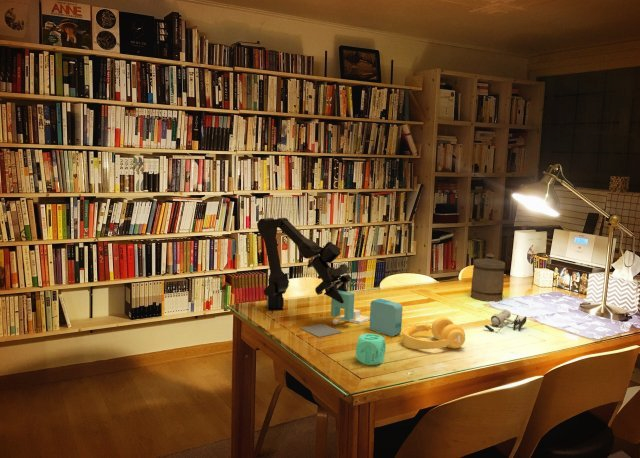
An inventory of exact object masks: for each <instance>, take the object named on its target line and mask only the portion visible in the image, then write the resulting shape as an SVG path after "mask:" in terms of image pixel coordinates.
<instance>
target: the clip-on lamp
mask: <svg viewBox="0 0 640 458" xmlns="http://www.w3.org/2000/svg"><path fill="white" fill-rule="evenodd" d="M510 317H511V312H510V310H508V309H504V310H502V311H501V312H499V313H494V314H493V315H492V316H491V318H490V322H491V324H492V325H493V326H495V327H501V328H500V329H503V328H504V326H506V325H507V324H510V325H513V330H514V331H515V330H516V326H518V331H519V332H520V331H521V328H522V327H523V326H524V325H525V324H526V323H527V316H524V317H520V316H519V315H518V314H517V315H516V317H515V318H514V320H513V319H510ZM504 322H505V323H504ZM483 326H484V328H486V329H487V330H489V331H490V332H492V333H498V332H499V330H497V331H495V329H494V328H492V327H491V326H489V325H487V324H483Z"/></svg>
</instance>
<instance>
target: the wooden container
mask: <svg viewBox="0 0 640 458" xmlns="http://www.w3.org/2000/svg"><path fill="white" fill-rule="evenodd" d="M485 256H486V258H476V259H474V260H473V267H472V278H471V289H470V297H471V298H472V299H475V300H478V301H482V302H490V301H495V302H500V301H499V300H501V301H503V293H504V281H505V278H504V277H505V268H506V262H505V261H503V260H499V259H494V254H493V253H486V255H485Z"/></svg>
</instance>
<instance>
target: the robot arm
mask: <svg viewBox="0 0 640 458" xmlns="http://www.w3.org/2000/svg"><path fill="white" fill-rule="evenodd" d="M256 227H257V231H258V233H259V236H260V237H261V238H262V239H263V241H264V247H265V252H266V257H267V262H268V267H269V272H270V273H269V276H268V279H267V281H268V285H267V286H266V287H265V288H264V289H263V294H264V296H266V305H265V307H266V308H267V310H268V311H282V310H284V304H285V301H284V299H285V298H284V296H283V295H284V294H286V292H287V289H288V287H289V285H290V284H289V283H290V280H289V275H288V273H285V272H284V271H283V270H282V266H281V259H280V255H279V250H278V244H277V238H276V236H277V234H278V228H279V229H280V230H281V231H282V232H283V233H284V235H286V236H287V237H288V238H289V239H290V240H291V241H292V242H293V243H294V245H296V247H297V249H298V252H299V254H301V256H302V258H304V259H307V260H308V259H310V260H308V261H307V262H308V263H307V269H310V268H312V267H313V269H314V271H315V272H316V273H317V275H318V276H317V279H318V280H320V279H321V282H320V283H319V284H318V285H316V287H315V288H314V289H315V294H316V295H317V296H319V295H322V294H323V295H324V296H326V297H329V298H331V299H332V298H333V299H335V300H336V301H338V302H340V303H343V302H344V301H343V299H342V297H341V296H340V294H339V292H338V291H337V290H340V291H345V292H348V289H347V284H348V283H350V281H351V280H352V277H351V275H350V274H349V272H348V271H349V269H350V268H349V267H348V266H347V264H346V263H343V264H340V265H339V267H337V268H335V267H334V266H330V264H331V263H334V261H335V260H336V259H337V258H338V257H339V256H340V255H341V253H342V251H341V248H340V247H339V246H338V245H336V244H334V243H332V241H327V242H326V244H325V245H324V246H320V245H319V244H318V243H316V242H315V241H314V240H312V239H309V238H307V237H306V236H305V235H304V234H302V232H301V231H299V230H298V229H297V228H296V227H295V226H294V225H293V224H292V223H291V222H290V220H289V219H288V218H287V217H279V218H278V217H277V218H274V217H267V218H266V217H265V218H260V219H258V221H257V223H256ZM323 291H325V292H324V293H323Z"/></svg>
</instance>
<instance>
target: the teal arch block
mask: <svg viewBox="0 0 640 458" xmlns="http://www.w3.org/2000/svg"><path fill="white" fill-rule="evenodd" d="M337 291H338V292H339V294H340V296H341V297H342V299H343V301H344V302H343V303H340V302H338V301H336V300H335V299H333V298H331V300H330V301H331V302H330V306H331V307H330V317H332V318H336V317H340V316H341V310H344V313H343V315H344V320H343V321H345V320H350V319H353V314H354V309H355V293H353V292H348V291H347V292H345V291H340V290H337Z"/></svg>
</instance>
